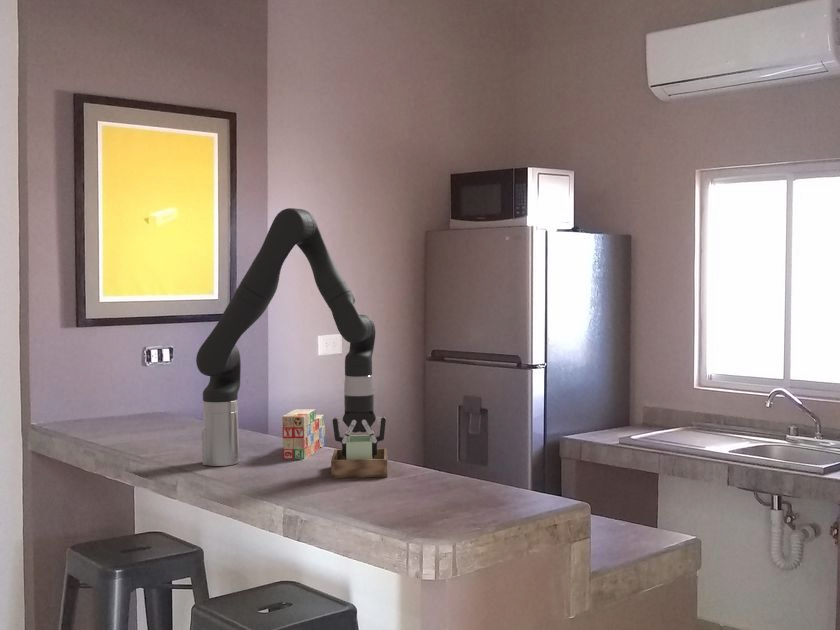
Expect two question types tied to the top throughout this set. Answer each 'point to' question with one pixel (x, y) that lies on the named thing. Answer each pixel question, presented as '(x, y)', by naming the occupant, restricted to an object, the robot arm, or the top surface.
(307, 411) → the stack of blocks
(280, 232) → the robot arm
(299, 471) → the top surface
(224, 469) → the top surface
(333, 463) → the big crate
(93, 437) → the top surface
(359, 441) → the small crate
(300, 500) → the top surface
